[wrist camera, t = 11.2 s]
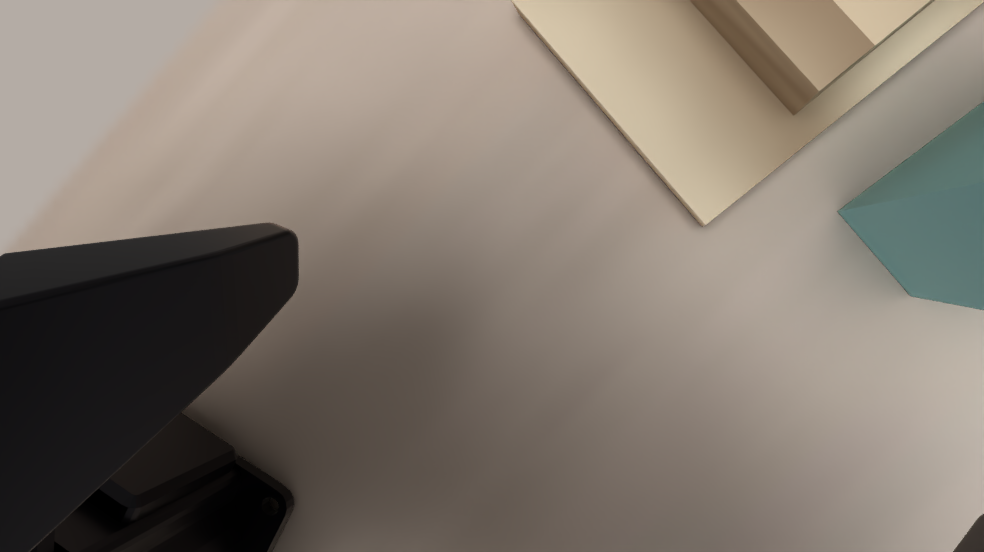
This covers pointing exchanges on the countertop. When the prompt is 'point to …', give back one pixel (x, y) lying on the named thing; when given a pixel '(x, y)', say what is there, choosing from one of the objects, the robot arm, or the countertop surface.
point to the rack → (732, 75)
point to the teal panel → (931, 217)
